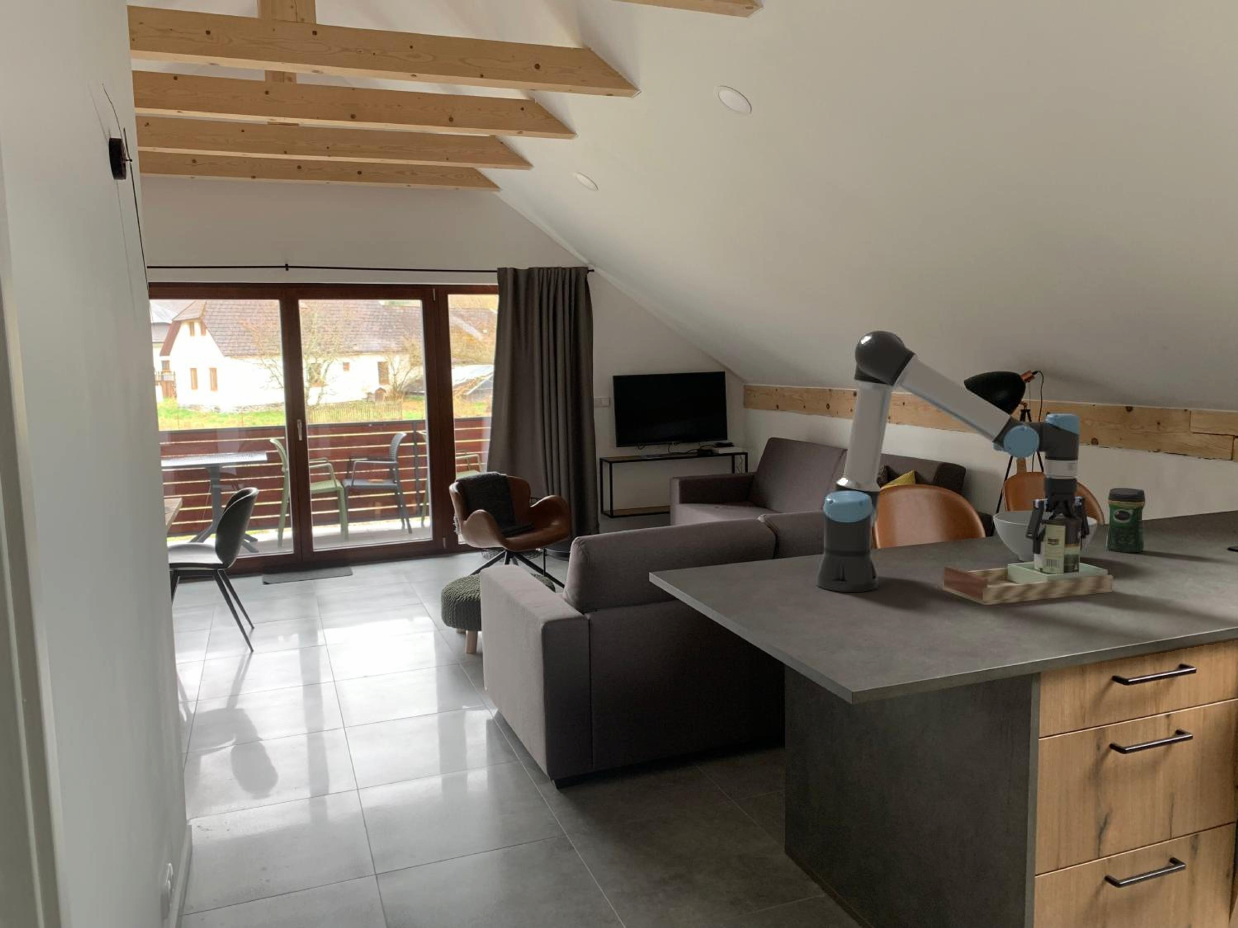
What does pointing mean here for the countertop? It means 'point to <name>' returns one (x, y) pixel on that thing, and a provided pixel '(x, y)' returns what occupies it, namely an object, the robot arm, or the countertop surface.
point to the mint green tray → (1027, 575)
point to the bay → (1016, 586)
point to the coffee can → (1061, 545)
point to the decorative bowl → (1015, 528)
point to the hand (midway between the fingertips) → (1056, 565)
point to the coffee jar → (1125, 520)
